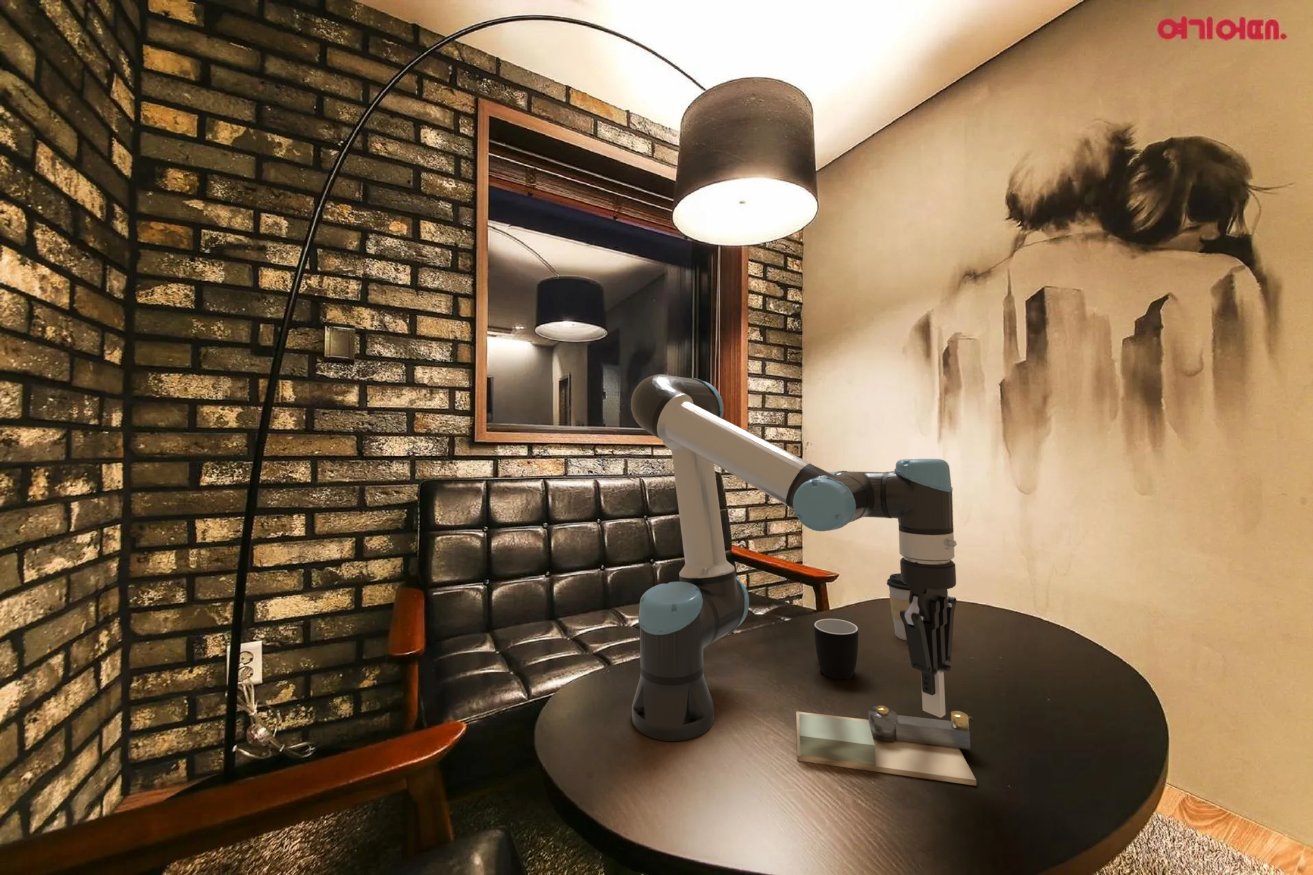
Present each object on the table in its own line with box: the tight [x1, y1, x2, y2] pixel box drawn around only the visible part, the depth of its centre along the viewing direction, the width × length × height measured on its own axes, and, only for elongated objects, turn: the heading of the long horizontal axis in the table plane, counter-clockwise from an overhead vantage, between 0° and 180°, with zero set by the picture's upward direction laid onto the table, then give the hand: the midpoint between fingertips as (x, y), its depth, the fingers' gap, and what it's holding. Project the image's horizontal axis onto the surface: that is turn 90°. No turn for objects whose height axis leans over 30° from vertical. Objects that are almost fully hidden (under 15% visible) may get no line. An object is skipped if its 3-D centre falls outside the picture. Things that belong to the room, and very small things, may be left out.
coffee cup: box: [886, 572, 910, 641], centre depth 125 cm, size 9×9×15 cm
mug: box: [813, 618, 859, 680], centre depth 108 cm, size 12×9×10 cm
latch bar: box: [867, 705, 971, 750], centre depth 81 cm, size 15×4×5 cm, turn 75°
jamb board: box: [795, 711, 977, 786], centre depth 81 cm, size 25×13×4 cm, turn 75°
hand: (934, 712), depth 76 cm, fingers closed
